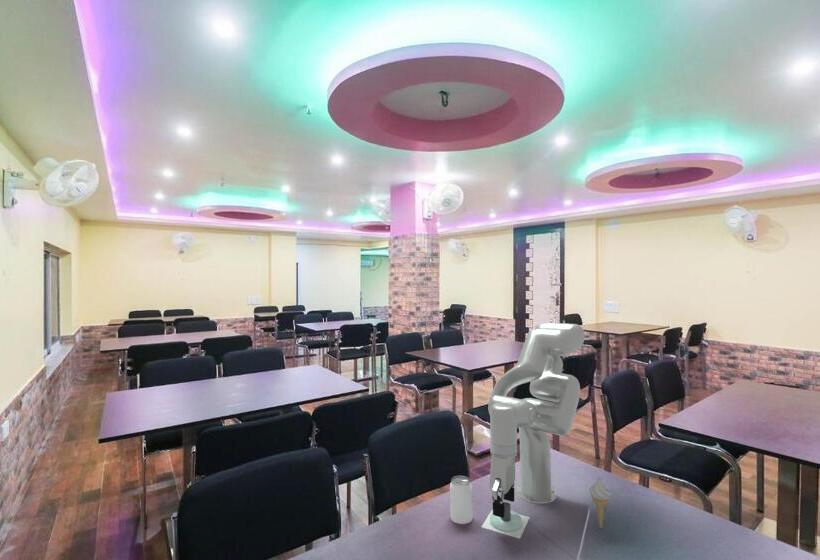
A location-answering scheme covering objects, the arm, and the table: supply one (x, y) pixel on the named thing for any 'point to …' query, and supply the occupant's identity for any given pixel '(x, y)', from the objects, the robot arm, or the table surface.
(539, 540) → the table surface
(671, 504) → the table surface
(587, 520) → the table surface
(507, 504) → the lid
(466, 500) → the can
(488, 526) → the mat
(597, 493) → the ice cream cone
